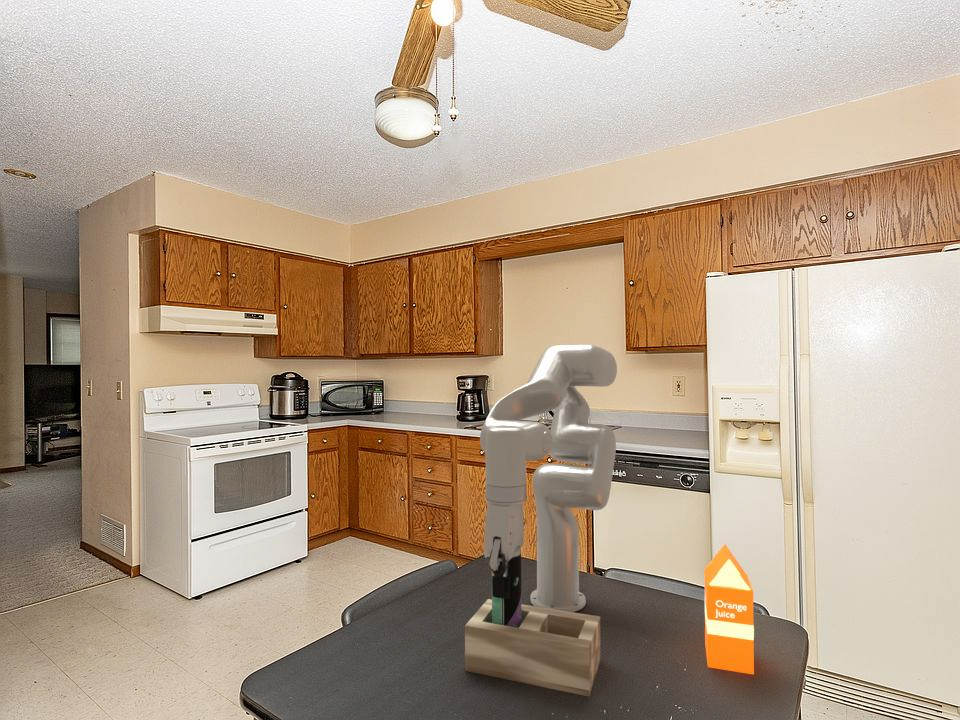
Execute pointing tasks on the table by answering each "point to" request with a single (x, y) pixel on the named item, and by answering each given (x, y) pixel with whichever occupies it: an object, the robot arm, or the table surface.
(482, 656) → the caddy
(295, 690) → the table surface
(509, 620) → the spray can
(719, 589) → the orange juice
